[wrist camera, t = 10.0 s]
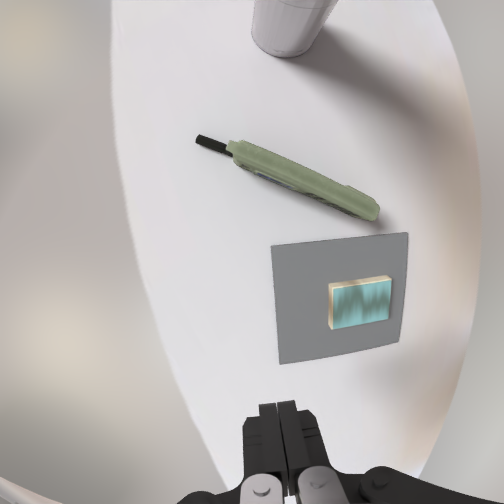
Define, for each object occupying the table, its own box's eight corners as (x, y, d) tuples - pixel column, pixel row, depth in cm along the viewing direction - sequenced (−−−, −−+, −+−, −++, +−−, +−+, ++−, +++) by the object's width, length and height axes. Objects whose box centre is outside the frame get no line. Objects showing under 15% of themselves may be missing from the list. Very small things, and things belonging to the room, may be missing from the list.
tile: (332, 288, 40) (392, 279, 40) (328, 283, 42) (386, 275, 42) (331, 330, 42) (389, 319, 42) (328, 324, 44) (383, 314, 44)
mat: (270, 245, 41) (271, 246, 40) (405, 232, 41) (407, 232, 41) (279, 362, 46) (279, 364, 45) (396, 340, 46) (398, 342, 46)
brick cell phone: (353, 220, 41) (192, 151, 37) (361, 200, 40) (202, 130, 37) (373, 225, 34) (184, 143, 31) (382, 202, 34) (196, 118, 30)
